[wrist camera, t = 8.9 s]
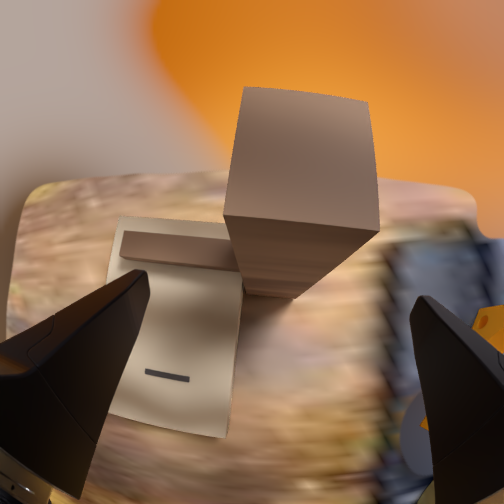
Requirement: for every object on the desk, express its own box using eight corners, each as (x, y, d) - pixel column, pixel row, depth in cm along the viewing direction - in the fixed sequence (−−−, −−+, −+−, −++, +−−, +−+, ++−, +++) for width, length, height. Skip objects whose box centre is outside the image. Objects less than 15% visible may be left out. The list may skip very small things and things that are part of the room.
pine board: (228, 427, 20) (225, 438, 17) (109, 402, 20) (94, 408, 18) (249, 236, 24) (248, 225, 21) (131, 226, 24) (118, 215, 21)
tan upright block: (295, 298, 22) (379, 231, 6) (137, 280, 23) (-17, 203, 7) (299, 246, 23) (367, 101, 7) (145, 232, 23) (23, 109, 8)
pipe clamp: (446, 440, 19) (487, 459, 13) (419, 425, 19) (459, 446, 13) (501, 330, 21) (545, 325, 15) (478, 309, 22) (524, 300, 16)
